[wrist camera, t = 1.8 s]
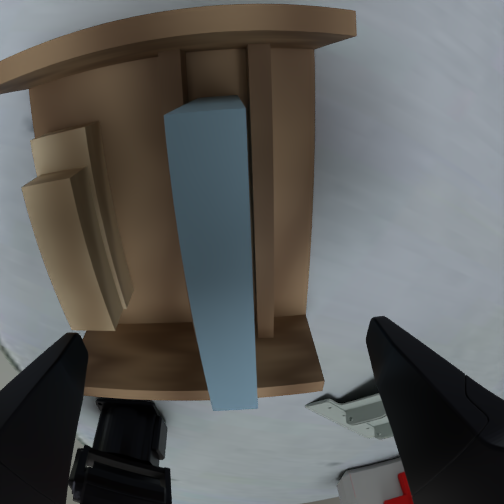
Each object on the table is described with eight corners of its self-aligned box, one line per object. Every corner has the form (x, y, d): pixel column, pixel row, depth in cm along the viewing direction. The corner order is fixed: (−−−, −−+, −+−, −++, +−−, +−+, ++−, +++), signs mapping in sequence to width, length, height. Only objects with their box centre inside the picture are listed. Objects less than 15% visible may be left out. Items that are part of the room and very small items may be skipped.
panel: (216, 292, 21) (212, 410, 13) (198, 97, 15) (163, 115, 7) (247, 290, 21) (257, 408, 13) (237, 95, 15) (246, 108, 7)
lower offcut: (88, 291, 20) (79, 309, 19) (47, 133, 15) (30, 140, 13) (133, 289, 21) (126, 308, 19) (99, 121, 15) (84, 126, 13)
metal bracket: (430, 386, 22) (461, 423, 28) (420, 330, 26) (455, 382, 32) (293, 423, 30) (359, 451, 36) (298, 375, 34) (360, 413, 40)
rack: (97, 324, 23) (70, 393, 17) (36, 72, 14) (-40, 82, 8) (302, 315, 24) (322, 390, 18) (309, 34, 14) (355, 10, 8)
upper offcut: (82, 309, 19) (72, 330, 17) (40, 174, 14) (21, 187, 12) (123, 308, 19) (115, 330, 17) (86, 166, 14) (69, 178, 13)
